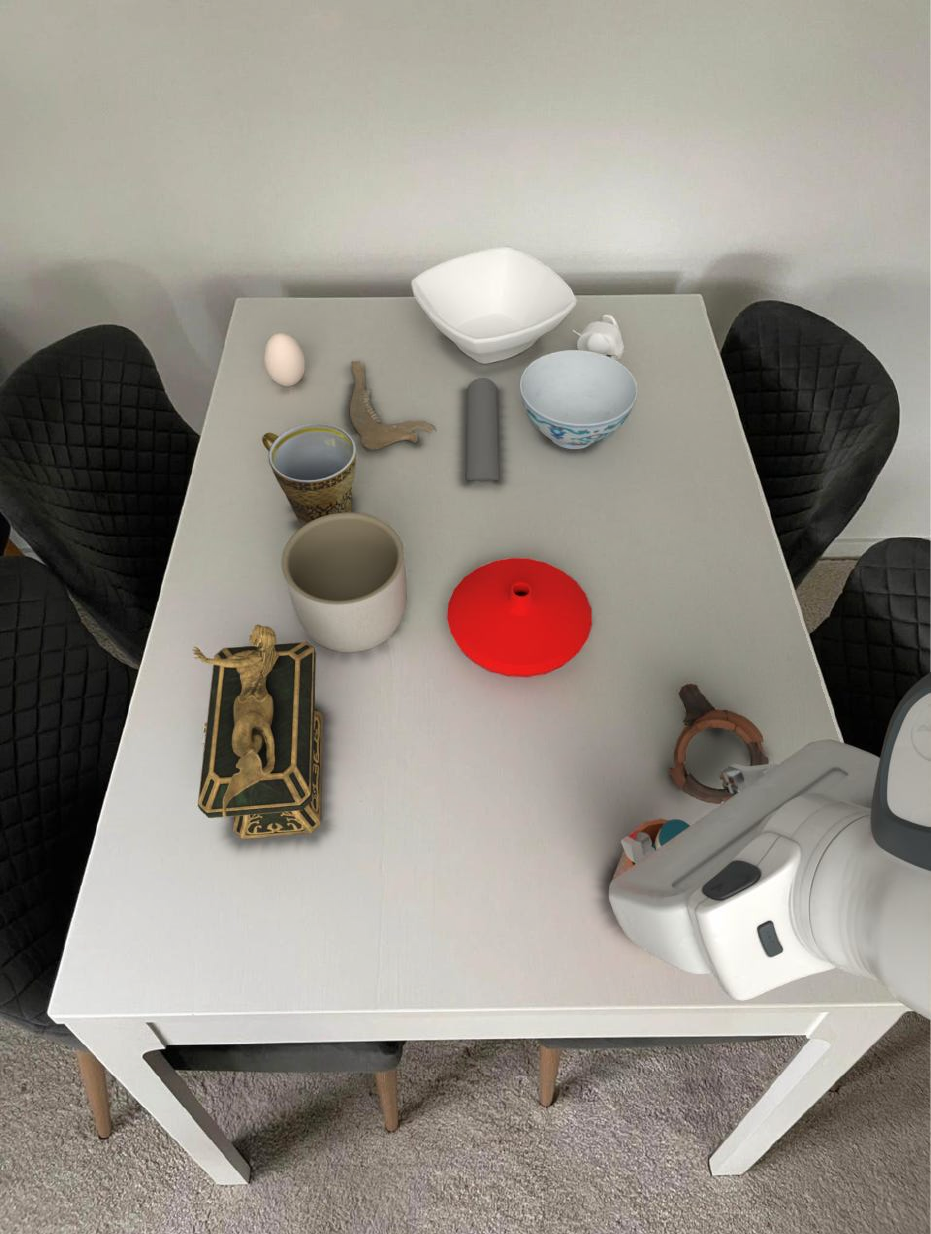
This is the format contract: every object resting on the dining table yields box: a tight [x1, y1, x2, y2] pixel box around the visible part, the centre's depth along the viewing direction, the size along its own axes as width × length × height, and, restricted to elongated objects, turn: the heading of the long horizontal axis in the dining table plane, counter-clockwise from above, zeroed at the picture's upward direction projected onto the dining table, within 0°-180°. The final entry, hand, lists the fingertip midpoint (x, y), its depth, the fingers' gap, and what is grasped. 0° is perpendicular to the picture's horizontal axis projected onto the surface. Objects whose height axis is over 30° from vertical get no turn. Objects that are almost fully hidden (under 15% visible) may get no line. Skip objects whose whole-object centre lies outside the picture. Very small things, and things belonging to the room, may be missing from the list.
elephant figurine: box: [572, 314, 626, 361], centre depth 118 cm, size 7×8×6 cm
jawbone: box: [349, 360, 437, 450], centre depth 113 cm, size 9×20×2 cm, turn 37°
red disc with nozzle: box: [446, 557, 593, 678], centre depth 88 cm, size 16×16×7 cm
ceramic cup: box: [261, 422, 357, 526], centre depth 99 cm, size 13×10×10 cm
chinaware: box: [519, 349, 639, 450], centre depth 108 cm, size 15×15×8 cm
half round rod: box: [465, 377, 500, 482], centre depth 110 cm, size 4×20×2 cm, turn 179°
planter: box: [281, 511, 408, 653], centre depth 88 cm, size 12×12×11 cm
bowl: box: [410, 246, 578, 364], centre depth 119 cm, size 21×21×9 cm
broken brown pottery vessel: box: [668, 683, 770, 805], centre depth 80 cm, size 12×10×8 cm
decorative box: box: [192, 623, 323, 840], centre depth 72 cm, size 20×10×20 cm, turn 5°
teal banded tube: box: [653, 818, 691, 850], centre depth 67 cm, size 3×3×14 cm
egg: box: [263, 332, 306, 387], centre depth 114 cm, size 6×6×8 cm
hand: (680, 808), depth 60 cm, fingers open, 8 cm apart
